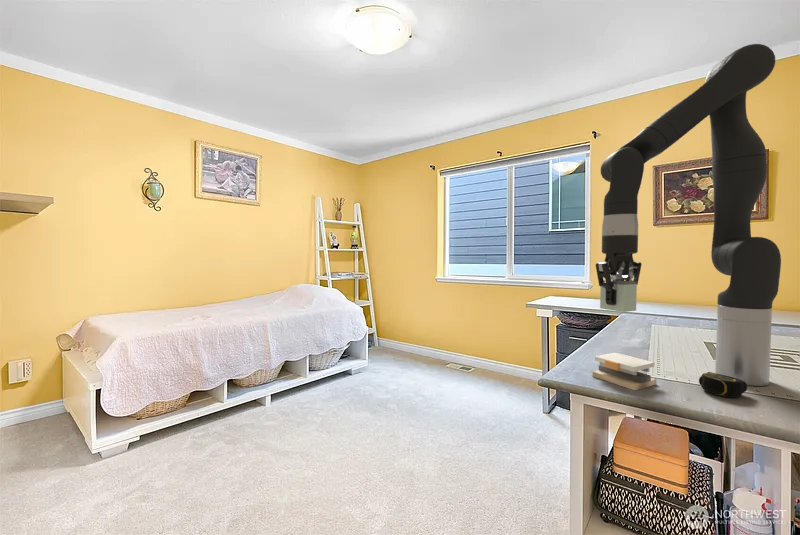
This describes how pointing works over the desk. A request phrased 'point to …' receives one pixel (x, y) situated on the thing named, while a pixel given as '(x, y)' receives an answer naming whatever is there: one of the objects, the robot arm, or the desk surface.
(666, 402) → the desk surface
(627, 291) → the block
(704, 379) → the tape measure
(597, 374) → the rail stand
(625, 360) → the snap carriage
